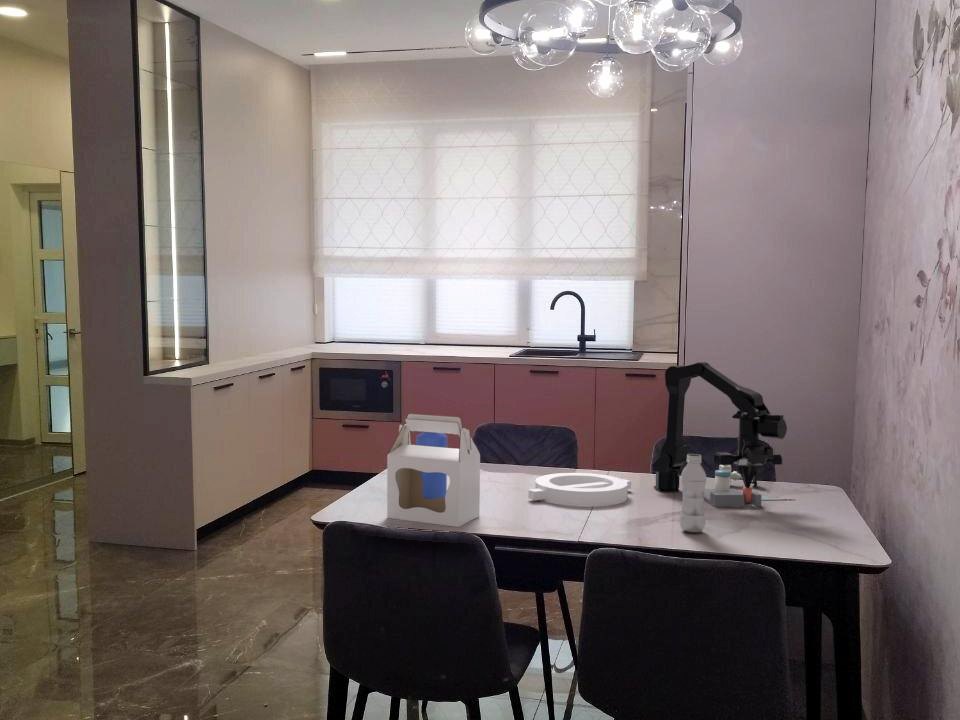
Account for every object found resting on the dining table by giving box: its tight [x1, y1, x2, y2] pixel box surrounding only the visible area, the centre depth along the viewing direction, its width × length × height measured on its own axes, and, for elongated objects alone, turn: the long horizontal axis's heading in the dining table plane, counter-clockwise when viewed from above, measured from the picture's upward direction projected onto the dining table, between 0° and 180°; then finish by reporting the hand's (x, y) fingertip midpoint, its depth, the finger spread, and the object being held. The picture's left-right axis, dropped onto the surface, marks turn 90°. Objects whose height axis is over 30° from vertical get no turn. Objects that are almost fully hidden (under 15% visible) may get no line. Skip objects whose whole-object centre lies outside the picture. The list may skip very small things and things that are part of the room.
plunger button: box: [742, 486, 753, 502], centre depth 249 cm, size 3×3×4 cm
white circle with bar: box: [527, 472, 632, 508], centre depth 259 cm, size 28×28×5 cm
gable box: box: [386, 413, 481, 528], centre depth 230 cm, size 22×13×28 cm, turn 65°
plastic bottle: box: [679, 453, 707, 534], centre depth 218 cm, size 6×7×20 cm
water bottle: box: [415, 432, 449, 499], centre depth 251 cm, size 9×9×25 cm
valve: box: [718, 464, 758, 487], centre depth 276 cm, size 7×7×12 cm
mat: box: [761, 496, 790, 501], centre depth 260 cm, size 12×10×1 cm
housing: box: [703, 488, 762, 508], centre depth 256 cm, size 14×19×4 cm
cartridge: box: [714, 469, 732, 492], centre depth 259 cm, size 5×5×8 cm
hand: (747, 487), depth 249 cm, fingers closed, pressing on plunger button
